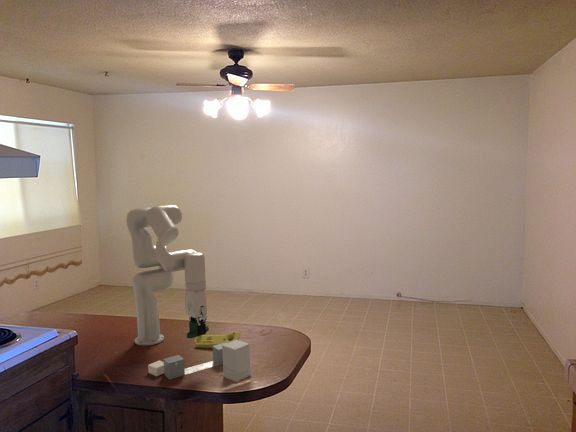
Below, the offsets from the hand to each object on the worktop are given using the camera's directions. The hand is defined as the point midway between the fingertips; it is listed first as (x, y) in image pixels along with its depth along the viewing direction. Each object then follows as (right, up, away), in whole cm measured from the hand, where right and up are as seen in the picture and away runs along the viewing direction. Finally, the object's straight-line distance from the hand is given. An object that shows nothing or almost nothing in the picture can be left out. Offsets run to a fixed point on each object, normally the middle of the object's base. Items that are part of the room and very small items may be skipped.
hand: (197, 331), depth 179 cm
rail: (0, -15, +2) cm, 15 cm away
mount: (0, -1, 0) cm, 1 cm away
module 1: (-8, -15, -4) cm, 17 cm away
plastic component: (+4, -13, +25) cm, 28 cm away
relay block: (-15, -16, -1) cm, 21 cm away
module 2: (+8, -13, +7) cm, 17 cm away
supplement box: (+16, -15, -6) cm, 23 cm away
